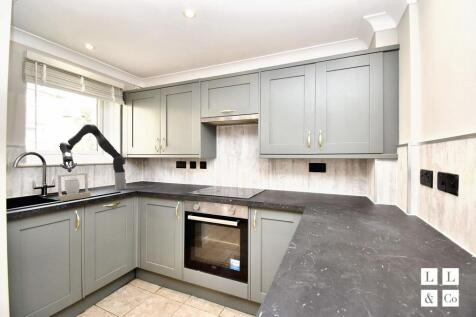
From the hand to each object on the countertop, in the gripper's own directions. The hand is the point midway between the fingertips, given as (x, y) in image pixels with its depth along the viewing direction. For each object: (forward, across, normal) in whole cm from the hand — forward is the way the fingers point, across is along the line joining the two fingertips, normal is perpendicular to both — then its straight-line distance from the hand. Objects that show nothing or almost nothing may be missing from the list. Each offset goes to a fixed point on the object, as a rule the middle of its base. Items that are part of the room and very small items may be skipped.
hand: (69, 171), depth 196 cm
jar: (+23, 0, +7) cm, 24 cm away
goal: (+33, 0, -4) cm, 33 cm away
